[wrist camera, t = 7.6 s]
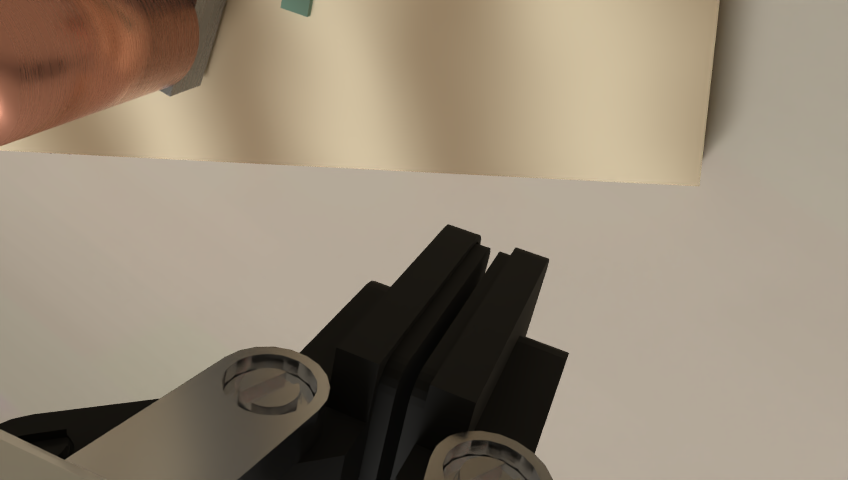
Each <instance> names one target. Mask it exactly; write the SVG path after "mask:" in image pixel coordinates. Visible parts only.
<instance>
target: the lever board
mask: <svg viewBox="0 0 848 480" xmlns="http://www.w3.org/2000/svg"><path fill="white" fill-rule="evenodd" d="M719 3H720V0H226V2H225V6H224V9H223V12H222V16H221V19H220V22H219V26H218V29H217V32H216V36H215V39H214V42H213V46H212V49H211V52H210V56H209V59H208V62H207V66H206V69H205V72H204V76H203V79H202V82H201V85H200V86H197V87H195V88H192V89H189V90H187V91H184V92H181V93H179V94H176V95H173V96H171V97H170V96H168V95H166V94H165V93H163V92H161V91H156V92H153V93H150V94H147V95H145V96H142V97H139V98H136V99H133V100H130V101H128V102H125V103H122V104H119V105H116V106H113V107H111V108H108V109H105V110H102V111H99V112H96V113H94V114H91V115H88V116H85V117H82V118H79V119H77V120H74V121H71V122H68V123H65V124H62V125H60V126H57V127H54V128H51V129H48V130H45V131H43V132H40V133H37V134H34V135H31V136H28V137H26V138H23V139H20V140H17V141H14V142H11V143H9V144H6V145H3V146H0V150H1V151H21V152H41V153H60V154H80V155H99V156H119V157H138V158H158V159H177V160H197V161H216V162H236V163H255V164H275V165H294V166H314V167H333V168H353V169H372V170H392V171H411V172H431V173H451V174H470V175H490V176H509V177H529V178H548V179H568V180H587V181H607V182H626V183H646V184H665V185H685V186H699V185H700V176H701V167H702V157H703V148H704V139H705V130H706V121H707V112H708V103H709V94H710V85H711V75H712V66H713V57H714V48H715V39H716V30H717V21H718V12H719Z"/></svg>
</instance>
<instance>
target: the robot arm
mask: <svg viewBox="0 0 848 480" xmlns="http://www.w3.org/2000/svg"><path fill="white" fill-rule="evenodd" d="M480 242H481V236H480V235H478V234H475V233H472V232H469V231H466V230H463V229H460V228H457V227H454V226H451V225H449V224H448V225H446V226H445V227H444V228H443V230H442V231H441V232H440V233H439V234H438V235H437V236H436V237H435V238H434V240H433V241H432V242H431V243H430V244H429V245H428V246H427V247H426V248H425V250H424V251H423V252H422V253H421V254H420V255H419V256H418V257H417V258H416V259H415V261H414V262H413V263H412V264H411V265H410V266H409V267H408V268H407V269H406V271H405V272H404V273H403V274H402V275H401V276H400V277H399V278H398V279H397V281H396V282H395V283H394V284H393V285H392V286H391V287H389V286H387V285H384V284H381V283H378V282H376V281H371V282H369V283H368V284H366V285H365V286H364V287H363V289H362V290H361V291H360V292H359V293H358V294H357V295H356V296H355V297H354V298H353V299H352V300H351V301H350V302H349V303H348V304H347V305H346V306H345V307H344V308H343V309H342V310H341V311H340V312H339V313H338V314H337V315H336V316H335V317H334V318H333V319H332V320H331V321H330V322H329V323H328V324H327V325H326V326H325V327H324V328H323V329H322V330H321V331H320V333H319V334H318V335H317V336H316V337H315V338H314V339H313V340H312V341H311V342H310V343H309V344H308V345H307V346H306V347H305V348H304V349H303V350H302V351H301V352H300V353H298V352H295V351H293V350H289V349H283V348H278V347H254V348H249V349H244V350H239V351H237V352H235V353H233V354H231V355H228V356H226V357H224V358H223V359H221V360H220V361H218V362H217V363H215V364H213V365H212V366H210V367H209V368H207V369H206V370H204V371H202V372H201V373H199V374H198V375H196V376H195V377H193V378H192V379H190V380H188V381H187V382H185V383H184V384H182V385H181V386H179V387H177V388H176V389H174V390H173V391H171V392H170V393H168V394H167V395H165V396H163V397H162V398H160V399H153V400H145V401H137V402H129V403H121V404H113V405H105V406H97V407H89V408H81V409H73V410H65V411H57V412H49V413H41V414H33V415H28V416H24V417H19V418H15V419H11V420H8V421H6V422H4V423H1V424H0V480H553V479H552V477H551V475H550V473H549V471H548V469H547V468H546V466H545V465H544V463H543V462H542V461H541V460H540V459H539V458H538V457H537V456H536V455H535V451H536V448H537V445H538V442H539V439H540V436H541V433H542V430H543V427H544V424H545V422H546V419H547V416H548V413H549V410H550V407H551V404H552V401H553V398H554V395H555V392H556V389H557V386H558V384H559V381H560V378H561V375H562V372H563V369H564V366H565V363H566V360H567V357H568V354H569V353H568V352H565V351H562V350H560V349H557V348H554V347H551V346H549V345H546V344H543V343H541V342H538V341H535V340H533V339H530V338H527V337H526V334H527V330H528V327H529V324H530V321H531V318H532V315H533V311H534V308H535V305H536V302H537V299H538V296H539V292H540V289H541V286H542V283H543V280H544V277H545V273H546V270H547V267H548V263H549V259H548V258H545V257H542V256H539V255H536V254H533V253H530V252H528V251H525V250H522V249H519V248H515V249H514V251H513V252H512V254H511V255H508V254H505V253H502V252H499V253H498V255H497V256H496V258H495V259H494V261H493V262H492V264H491V265H490V267H489V268H488V270H487V271H486V267H487V263H488V259H489V255H490V248H488V247H485V246H482V245H480ZM485 271H486V273H485Z"/></svg>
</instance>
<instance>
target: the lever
mask: <svg viewBox="0 0 848 480" xmlns="http://www.w3.org/2000/svg"><path fill="white" fill-rule="evenodd" d="M225 2H226V0H0V146H3V145H6V144H9V143H11V142H14V141H17V140H20V139H23V138H26V137H28V136H31V135H34V134H37V133H40V132H43V131H45V130H48V129H51V128H54V127H57V126H60V125H62V124H65V123H68V122H71V121H74V120H77V119H79V118H82V117H85V116H88V115H91V114H94V113H96V112H99V111H102V110H105V109H108V108H111V107H113V106H116V105H119V104H122V103H125V102H128V101H130V100H133V99H136V98H139V97H142V96H145V95H147V94H150V93H153V92H156V91H161V92H163V93H165V94H166V95H168V96H170V97H171V96H173V95H176V94H179V93H181V92H184V91H187V90H189V89H192V88H195V87H197V86H200V85H201V82H202V79H203V76H204V72H205V69H206V66H207V62H208V59H209V56H210V52H211V49H212V46H213V42H214V39H215V36H216V32H217V29H218V26H219V22H220V19H221V16H222V12H223V9H224V6H225Z"/></svg>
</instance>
